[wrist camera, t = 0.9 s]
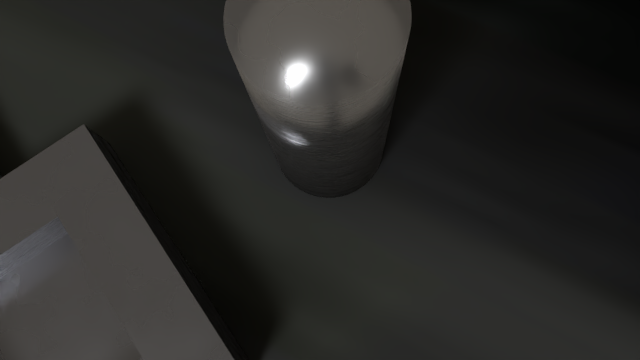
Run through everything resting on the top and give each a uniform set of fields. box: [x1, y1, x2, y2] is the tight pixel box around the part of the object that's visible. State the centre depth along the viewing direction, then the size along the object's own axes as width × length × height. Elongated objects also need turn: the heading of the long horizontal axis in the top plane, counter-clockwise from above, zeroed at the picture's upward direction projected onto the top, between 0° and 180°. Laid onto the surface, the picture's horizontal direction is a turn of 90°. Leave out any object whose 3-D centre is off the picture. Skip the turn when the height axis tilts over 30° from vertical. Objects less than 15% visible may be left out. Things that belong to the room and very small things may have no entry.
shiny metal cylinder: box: [224, 0, 412, 198], centre depth 20 cm, size 5×5×11 cm
